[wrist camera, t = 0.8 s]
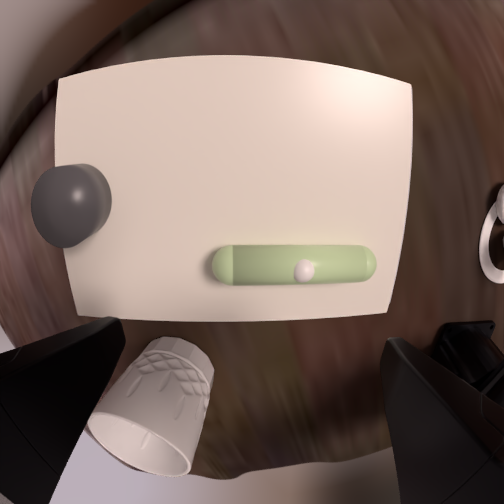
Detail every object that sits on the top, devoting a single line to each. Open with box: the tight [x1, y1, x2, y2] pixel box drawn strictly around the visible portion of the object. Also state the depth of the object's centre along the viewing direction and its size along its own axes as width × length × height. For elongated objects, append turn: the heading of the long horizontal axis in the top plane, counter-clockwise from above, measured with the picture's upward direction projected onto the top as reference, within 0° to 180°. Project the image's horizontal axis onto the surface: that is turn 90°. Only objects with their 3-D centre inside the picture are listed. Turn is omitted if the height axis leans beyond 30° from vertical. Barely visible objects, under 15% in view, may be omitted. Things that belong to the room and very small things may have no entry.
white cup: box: [87, 336, 214, 477], centre depth 19 cm, size 8×8×10 cm
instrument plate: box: [31, 55, 412, 322], centre depth 12 cm, size 18×13×3 cm
